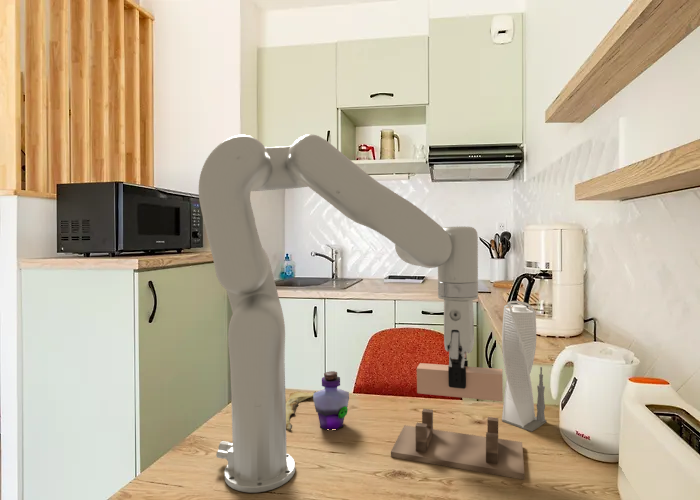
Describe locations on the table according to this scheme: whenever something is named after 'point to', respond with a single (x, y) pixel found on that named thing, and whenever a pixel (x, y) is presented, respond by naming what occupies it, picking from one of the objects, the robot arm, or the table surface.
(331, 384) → the potion bottle
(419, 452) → the rack
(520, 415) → the skyscraper
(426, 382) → the pink rectangular block
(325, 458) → the table surface
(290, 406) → the animal bone
